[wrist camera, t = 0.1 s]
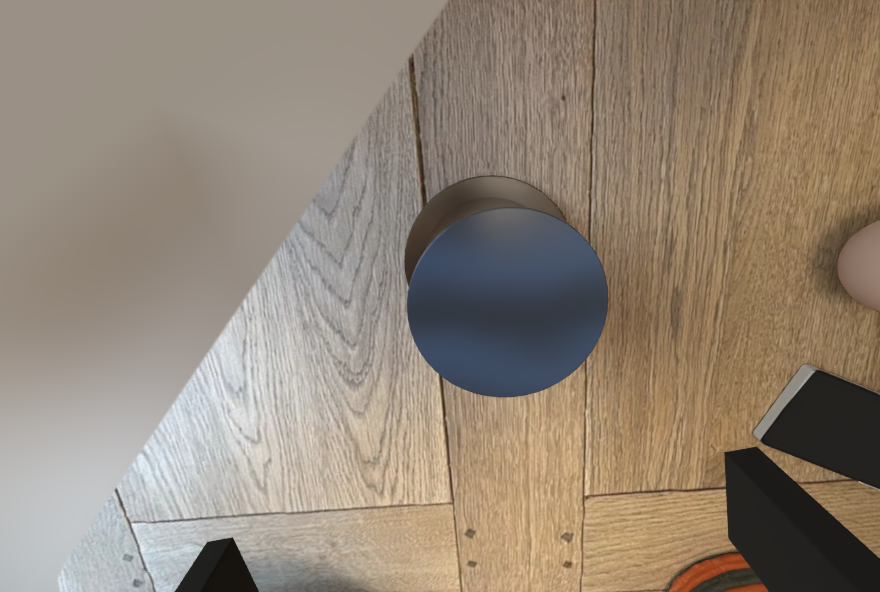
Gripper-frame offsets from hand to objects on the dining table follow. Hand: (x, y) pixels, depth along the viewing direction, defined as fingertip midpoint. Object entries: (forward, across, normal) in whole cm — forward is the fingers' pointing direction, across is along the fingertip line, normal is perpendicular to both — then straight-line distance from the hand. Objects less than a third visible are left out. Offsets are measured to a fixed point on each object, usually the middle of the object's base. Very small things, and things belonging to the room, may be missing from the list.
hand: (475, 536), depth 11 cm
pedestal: (+24, +3, +2) cm, 24 cm away
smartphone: (+24, +31, -20) cm, 44 cm away
